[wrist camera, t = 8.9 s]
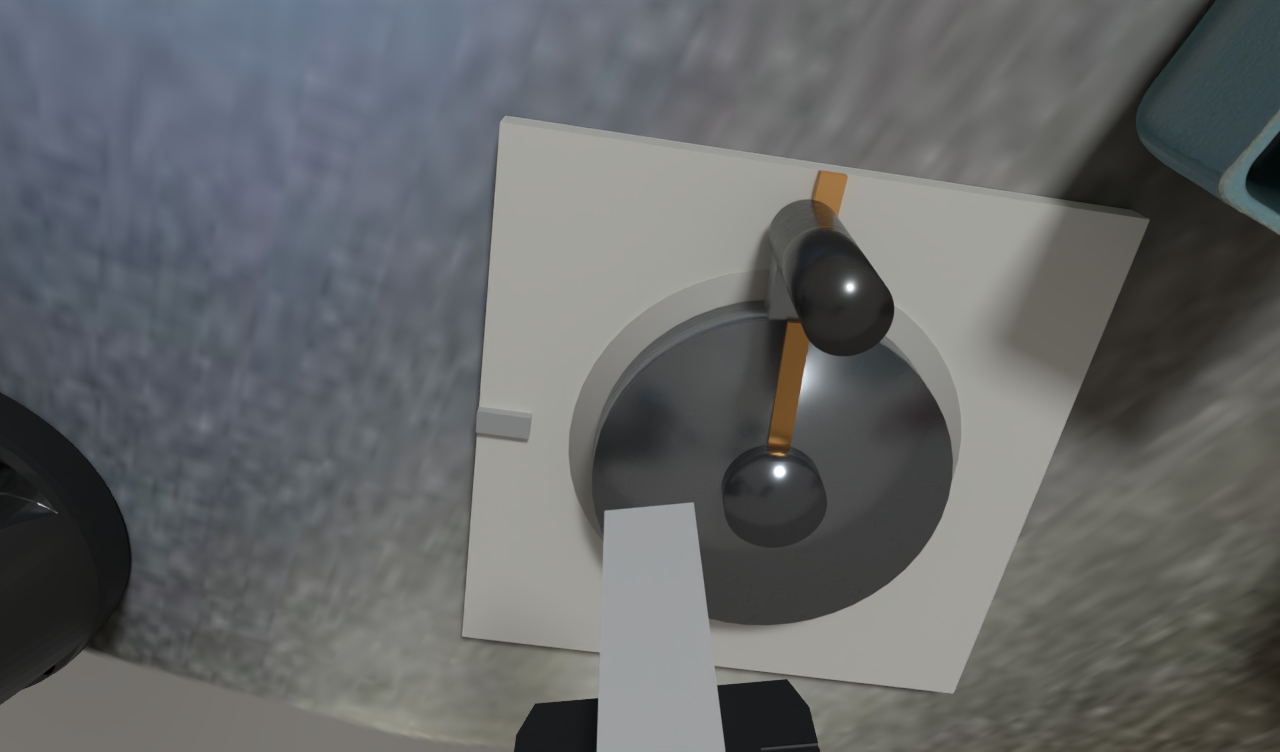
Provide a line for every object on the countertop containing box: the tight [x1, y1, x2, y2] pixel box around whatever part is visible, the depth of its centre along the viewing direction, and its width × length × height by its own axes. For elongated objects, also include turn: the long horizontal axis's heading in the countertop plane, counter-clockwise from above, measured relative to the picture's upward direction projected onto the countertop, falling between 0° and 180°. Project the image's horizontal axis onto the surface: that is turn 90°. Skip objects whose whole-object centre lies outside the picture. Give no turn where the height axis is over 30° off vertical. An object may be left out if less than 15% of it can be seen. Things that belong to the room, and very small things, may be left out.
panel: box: [462, 116, 1150, 693], centre depth 34 cm, size 22×22×2 cm
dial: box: [592, 199, 953, 625], centre depth 29 cm, size 17×13×8 cm
